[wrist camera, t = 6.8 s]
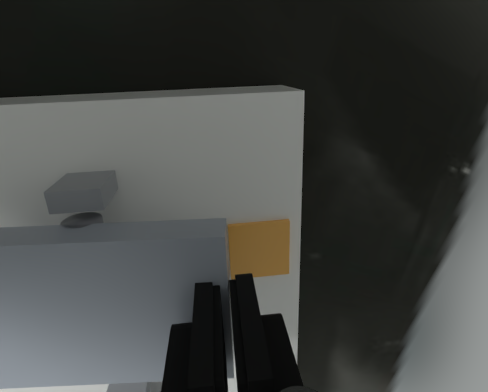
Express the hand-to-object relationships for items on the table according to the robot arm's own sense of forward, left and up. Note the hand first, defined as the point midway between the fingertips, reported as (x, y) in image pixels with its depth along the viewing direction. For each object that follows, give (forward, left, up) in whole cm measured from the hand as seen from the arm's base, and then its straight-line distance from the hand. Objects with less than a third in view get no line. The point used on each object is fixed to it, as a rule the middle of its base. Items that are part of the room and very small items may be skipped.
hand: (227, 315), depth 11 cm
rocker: (0, -4, -1) cm, 5 cm away
